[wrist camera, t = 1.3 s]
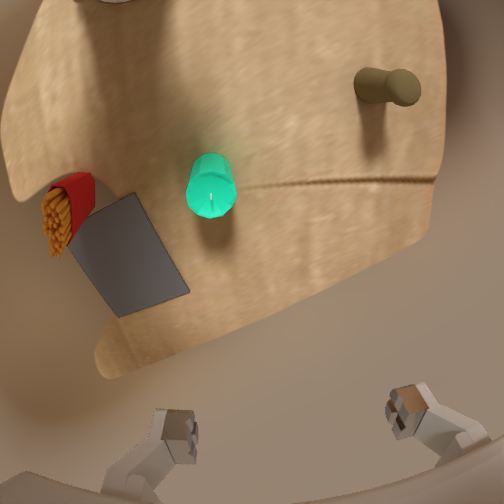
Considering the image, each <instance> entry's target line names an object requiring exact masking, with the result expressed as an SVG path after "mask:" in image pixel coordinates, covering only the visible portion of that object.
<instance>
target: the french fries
mask: <svg viewBox="0 0 504 504" xmlns="http://www.w3.org/2000/svg"><path fill="white" fill-rule="evenodd" d="M43 201H44V202H43V203H42V204H41V208H42V213H43V215H44V219H43V220H44V222H43V228H44V229H43V233H44V234H45V235H49V238H50V240H49V242H48V244H49V247H50V251H49V255H50V256H51V257H52V258H53V257H54V255H55V253H56V256H57V257H58V258H60V257H61V254H62V252H63V250H64V248H65V247H66V246H68V245H69V244H70V242H71V241H72V239H73V237H74V236H75V234H76V233H77V231H78V230H79V228H80V227H81V225H82V224H83V222H84V221H85V219H86V218H87V217H88V215H89V214H90V212H91V211H92V210H93V208H94V207H95V180H94V179H93V177H92V176H91V174H90V173H84V172H78V173H76V174H73V175H71V176H69V177H67V178H65V179H63V180H61V181H59V182H57V183H55V184H53V185H51V187H50V189H49V191H48V193H47V194H46V196H45V197H43Z"/></svg>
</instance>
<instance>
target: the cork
mask: <svg viewBox="0 0 504 504" xmlns="http://www.w3.org/2000/svg"><path fill="white" fill-rule="evenodd" d="M354 89H355V92H356V94H357V95H358V97H359V98H360V99H361V100H363V101H364V102H367V103H370V104H372V103H384V102H393V103H395V104H396V105H399V106H403V107H407V106H411V105H414V104H415V103H416V102H417V101H418V100H419V98H420V96H421V85H420V82H419V80H418V79H417V77H416V76H415V75H414V74H413V73H412V72H410V71H407V70H405V69H396V70H394V71H391V72H389V71H385V70H380V69H376V68H363V69H361V70H360V71H359V72H358V73H357V74H356V76H355V78H354Z"/></svg>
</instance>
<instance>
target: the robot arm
mask: <svg viewBox="0 0 504 504" xmlns="http://www.w3.org/2000/svg"><path fill="white" fill-rule="evenodd" d="M100 1H104V2H111V3H117V2H125V1H130V0H100ZM390 398H391V399H390V400H389V401H388V402H387V404H386V407H385V414H386V418H387V420H388V422H389V423H391V424H393V427H392V431H393V433H394V435H395V437H396V440H400V439H403V438H407V437H411V436H414V437H415V438H416V439H417V440H419V441H420V442H422V443H423V444H424V445H426V446H427V447H428V448H430V449H431V450H433V451H434V452H435V453H437V454H438V455H440V456H441V458H440V459H439V461H438V462H437V464H436V465H435V468H433V469H430V470H428V471H425V472H422V473H420V474H417V475H414V476H411V477H409V478H406V479H402V480H399V481H396V482H393V483H390V484H386V485H383V486H379V487H375V488H372V489H368V490H364V491H360V492H356V493H352V494H346V495H342V496H337V497H332V498H326V499H320V500H314V501H307V502H300V503H292V504H504V435H502V436H500V437H498V438H496V439H495V440H493V441H492V440H491V439H490V437H489V436H488V434H487V433H486V431H485V430H484V428H483V427H482V425H481V424H480V423H479V422H477V421H474V420H472V419H470V418H468V417H466V416H464V415H462V414H460V413H458V412H456V411H454V410H452V409H450V408H448V407H446V406H444V405H439V404H438V402H437V401H436V399H435V398H434V396H433V395H432V393H431V392H430V390H429V389H428V387H427V386H426V384H425V383H424V382H420V383H416V384H412V385H408V386H404V387H400V388H396V389H392V391H391V392H390ZM194 418H195V415H194V412H193V411H192V410H174V409H173V410H172V409H156V410H155V411H154V414H153V418H152V422H151V426H150V431H149V434H148V438H147V439H145V438H144V439H143V440H142V441H140V442H139V443H138V444H137V445H136V446H135V447H133V448H132V449H131V450H130V451H129V452H127V453H126V454H125V455H124V456H123V457H121V458H120V459H119V460H118V461H116V462H115V463H114V464H113V465H111V466H110V467H109V468H108V469H107V471H106V475H105V478H104V481H103V485H102V488H101V491H100V493H98V492H94V491H90V490H86V489H82V488H79V487H75V486H72V485H68V484H65V483H62V482H59V481H55V480H53V479H49V478H47V477H44V476H41V475H39V474H36V473H33V472H29V471H25V472H22V473H19V474H17V475H15V476H13V477H11V478H9V479H8V480H6V481H4V482H2V483H1V484H0V504H162V502H161V501H160V500H159V498H158V497H157V495H156V494H155V493H154V491H153V490H154V489H155V488H156V487H157V486H158V484H159V483H160V482H161V481H162V480H163V479H164V478H165V477H166V475H167V474H168V473H169V472H170V471H171V470H172V468H173V467H174V466H175V464H196V457H197V450H196V447H195V446H196V445H197V444H198V426H197V422H195V421H194Z"/></svg>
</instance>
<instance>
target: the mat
mask: <svg viewBox="0 0 504 504" xmlns="http://www.w3.org/2000/svg"><path fill="white" fill-rule="evenodd" d="M68 248H69V249H70V251H71V253H72V254H73V256H74V257H75V259H76V260H77V262H78V263H79V264H80V266H81V268H82V269H83V271H84V272H85V273H86V275H87V276H88V278H89V279H90V281H91V282H92V283H93V285H94V286H95V288H96V289H97V290H98V292H99V293H100V294H101V296H102V297H103V299H104V300H105V301H106V302H107V304H108V305H109V307H110V308H111V309H112V311H113V312H114V313H115V314H116V316H117V317H118V318H120V317H122V316H125V315H128V314H131V313H133V312H136V311H139V310H142V309H145V308H147V307H150V306H153V305H156V304H158V303H161V302H164V301H167V300H169V299H172V298H175V297H178V296H180V295H183V294H186V293H188V292H190V290H189V288H188V286H187V285H186V283H185V281H184V280H183V278H182V276H181V274H180V273H179V271H178V269H177V268H176V266H175V264H174V263H173V261H172V259H171V257H170V256H169V254H168V252H167V250H166V249H165V247H164V245H163V243H162V242H161V240H160V238H159V236H158V234H157V233H156V231H155V229H154V227H153V225H152V224H151V222H150V220H149V218H148V216H147V214H146V213H145V211H144V209H143V207H142V205H141V203H140V201H139V199H138V198H137V196H136V194H135V193H133V194H131V195H129V196H127V197H125V198H123V199H121V200H119V201H117V202H115V203H113V204H111V205H109V206H107V207H105V208H103V209H102V210H100V211H98V212H96V213H94V214H92V215H90V216H89V217H87V218H86V219H85V221H84V222H83V224H82V225H81V227H80V228H79V230H78V231H77V233H76V234H75V236H74V237H73V239H72V241H71V242H70V244H69V245H68Z"/></svg>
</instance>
